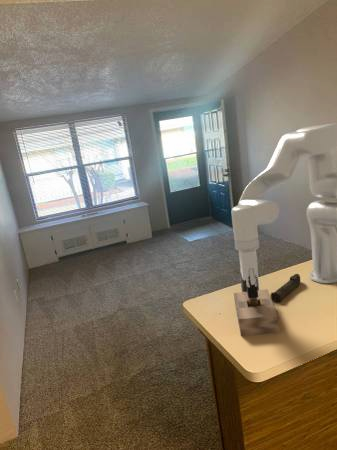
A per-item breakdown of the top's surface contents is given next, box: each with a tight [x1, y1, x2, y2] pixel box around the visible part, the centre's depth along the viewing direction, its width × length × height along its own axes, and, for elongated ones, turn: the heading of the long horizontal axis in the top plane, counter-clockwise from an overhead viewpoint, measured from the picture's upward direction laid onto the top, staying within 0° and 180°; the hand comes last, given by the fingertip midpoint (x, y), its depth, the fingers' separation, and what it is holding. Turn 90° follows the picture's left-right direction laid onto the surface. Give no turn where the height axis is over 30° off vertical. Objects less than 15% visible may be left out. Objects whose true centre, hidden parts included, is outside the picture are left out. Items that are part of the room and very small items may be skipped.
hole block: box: [233, 289, 280, 337], centre depth 113 cm, size 12×18×6 cm, turn 174°
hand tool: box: [270, 273, 301, 303], centre depth 127 cm, size 19×4×5 cm, turn 130°
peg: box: [246, 277, 258, 305], centre depth 110 cm, size 3×3×10 cm
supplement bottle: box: [239, 271, 260, 292], centre depth 131 cm, size 7×7×12 cm
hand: (252, 294), depth 111 cm, fingers closed on peg, 3 cm apart
